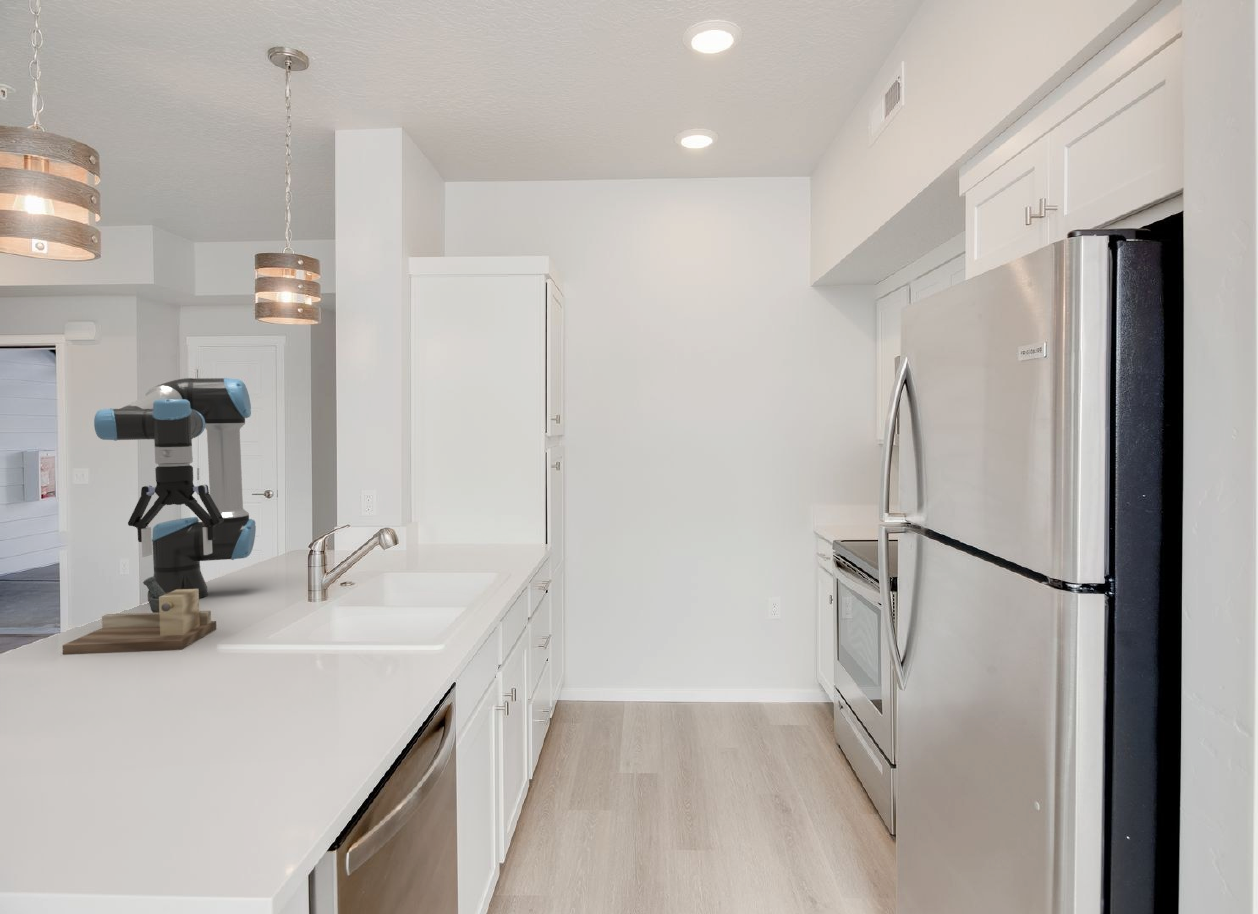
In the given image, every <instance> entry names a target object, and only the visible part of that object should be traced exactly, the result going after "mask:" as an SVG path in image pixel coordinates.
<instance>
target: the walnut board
mask: <svg viewBox="0 0 1258 914" xmlns="http://www.w3.org/2000/svg"><path fill="white" fill-rule="evenodd" d="M199 616H200V626H198V627H196V628H195V629H193V630H191V631H189V632H187V633H186V634H184V635H165V636H160V615H159V612H157V613H153V612H133V613H106V614H104V615H102V616H101V628H98V629H96V630H94V631H93V632H89V633H88V634H86V635H83V636H80V637H78V638H76V639H74V640H71V641H68V642H66V643H64V644H62V655H74V654H75V655H77V654H99V653H100V654H102V653H124V652H125V653H126V652H127V653H128V652H151V651H172V650H173V651H176V650H177V651H178V650H183V649H185V648H187V647H188V646H190V645H193V644H194V643H195V642H197V641H198V640H200V639H202V638H203V637H205V636H207V635H209V634H210V633H212V632H215V630H217V621H216V620H212V610H199Z"/></svg>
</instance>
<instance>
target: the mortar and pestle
mask: <svg viewBox="0 0 1258 914" xmlns="http://www.w3.org/2000/svg"><path fill="white" fill-rule="evenodd" d="M142 584H143V585H145V586H146V587H147V589H148V591H150V593H151V594H152V596H151V597H150V602H149V607H150V610H151V611H150V612H151V613H157V612H159V597H160V596H162V595H165V594H167V593H165V592H164V591H163V589H162V588H161V587H160V586H159V584H158V583H157V582H156V581H155V577H153V576H149V577H148V578H146V579H144V581H142ZM169 593H170V592H169Z"/></svg>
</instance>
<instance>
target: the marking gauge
mask: <svg viewBox="0 0 1258 914" xmlns="http://www.w3.org/2000/svg"><path fill="white" fill-rule="evenodd" d="M199 611H200V598H199V589H177V590H174V591H172V592H170V593H167V594H165V595H162V596H160V597H159V615H160V636H165V635H184V634H186V633H187V632H189V631H191V630H193V629H195V628H196V627H198V626H200V616H199Z"/></svg>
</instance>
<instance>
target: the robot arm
mask: <svg viewBox="0 0 1258 914" xmlns="http://www.w3.org/2000/svg"><path fill="white" fill-rule="evenodd" d="M251 405H252V404H251V400H250V395H249V391H248V387H247V386H246V384H245V382H243V380H241V379H239V378H229V377H228V378H227V377H224V378H223V377H222V378H221V377H220V378H219V377H218V378H216V377H215V378H212V377H211V378H210V377H209V378H208V377H206V378H204V377H203V378H200V377H198V378H193V377H192V378H191V377H185V378H179V379H174V380H169V381H167V382H164V383H161V384H158V385H156V386H154V387H152V388H150V389H149V390H148V391H146V393H145V395H144V396H143V397H141V398H138V399H137V400H135V401H132V402H131V403H129V404H127V405H125V406H123V407H121V408H113V407H111V408H103V409H99V410H97V411H96V413H95V414H94V419H93V421H94V422H93V426H94V431H95V434H96V437H98V439H100V440H102V441H103V440H104V441H130V440H137V441H139V440H154V441H153V443H154V463H155V464H156V465H158V466H156V467H155V468H154V469H155V470H154V471H155V483H156V486H152V485H145V486H142V487H141V491H140V497H139V499H138V501H137V503H136V506H135V508H134V510H133V511H132V513H131V516H130V518H129V520H128V522H127V526H129V527H134V528H136V530H137V541H138V543H141V552H142V553H141V554H142V555H141V556H142V558H143V557H144V558H146V557H149V556H152V557H153V559H152V561H153V562H152V563H153V574H152V575H153V576H152V577H155V581H156V582H157V583H158V584H159V586H160V587H161V588H162V589H163V591H164V592H165V593H169V592H172V591H174V590H177V589H199V599H202V598H204V597H206V596H208V586H207V584H206V580H205V578H204V577H203V574H202V571H201V563H200V562H206V561H207V562H208V561H220V560H222V561H223V560H224V561H225V560H232V561H234V560H239V559H245V558H248V557H249V556H251V554H252V550H253V548H254V544H255V539H256V532H257V531H256V530H257V529H256V527H257V526H256V521H255V520H254V519H252V518H250V514H249V512H248V511H247V510H246V509H244V503H243V502H244V501H243V482H242V481H243V476H242V453H241V451H242V450H241V431H240V430H241V429H242V428H243V427H244V425H245V424H246V419H248V418H251V416H252V415H251V414H252V406H251ZM204 430H206V436H207V437H206V441H207V461H208V464H207V465H208V483H209V484H208V485H207V484H200V485H198V486H197V485H196V486H195V484H194V466H193V465H191V464H192V463H193V462H194V461H193V459H194V458H193V444H192V441H193V439H195V438H197V437H199V436H201V435H202V434H203V432H204ZM195 492H196V495H198V496H199V498H200V500H201V502H202V504H203V506H204V507H205V508H203V507H202V506H201V505H200V504H199V502H198V500H197V499H196V498H195V497H194V496H193V495H194V493H195ZM155 494H156V495H157V497H158V498H156V500H155V501H154V503H153V505H152V506H150V508H149V510H147V512H146V509H147V507H148V506H149V504H150V502H151V499H152V496H154V495H155ZM172 505H175V506H176V505H177V506H178V505H179V506H181V505H185V506H186V507H188V508H189V509H190V510H191V512H192V513H193V514H195V516H194V517H193V516H191V517H185V518H184V517H183V518H178V519H173V520H168V521H163V522H160V523H159V522H158V523H157V524H155V525H154V526H153V528H152V527H151V526H150V527H149V524H151V522H152V521H153V520H154V519H155V517H156V516H157V515H158V514H159V513H160V511H161V510H162V509H163V508H164V507H165V506H172ZM205 509H206V510H205ZM145 512H146V513H145ZM151 596H152V594H151V593H150V591H149V590H148V591H147V602H148V603H150V597H151Z"/></svg>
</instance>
